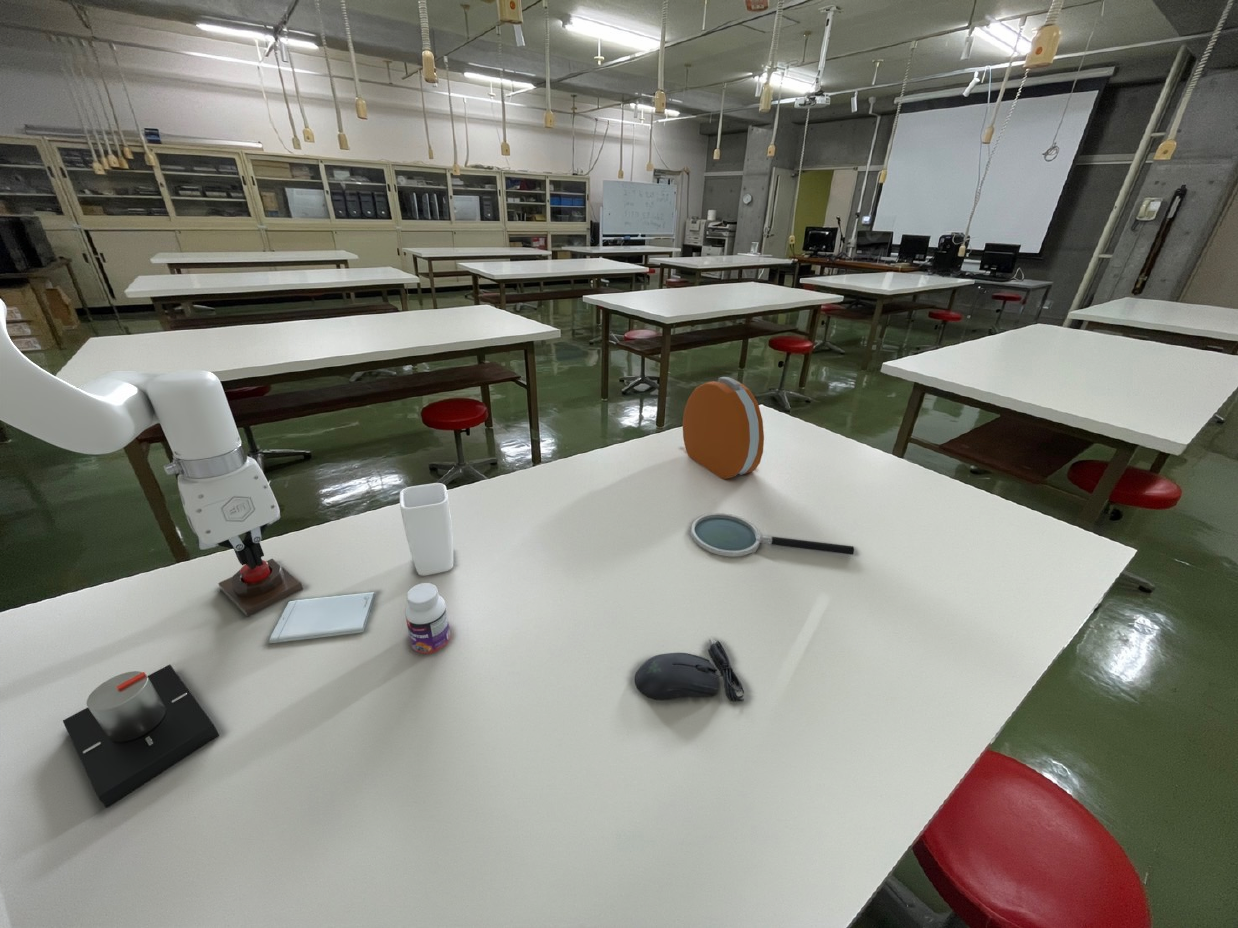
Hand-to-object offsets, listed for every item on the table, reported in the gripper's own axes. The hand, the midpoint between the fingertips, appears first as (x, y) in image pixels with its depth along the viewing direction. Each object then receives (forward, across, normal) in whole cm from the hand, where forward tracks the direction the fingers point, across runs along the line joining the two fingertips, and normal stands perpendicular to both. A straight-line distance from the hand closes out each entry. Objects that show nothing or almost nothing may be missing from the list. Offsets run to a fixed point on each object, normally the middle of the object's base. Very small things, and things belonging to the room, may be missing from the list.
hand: (253, 563), depth 78 cm
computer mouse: (+7, +27, -63) cm, 69 cm away
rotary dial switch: (+6, -19, -16) cm, 26 cm away
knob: (+3, -19, -16) cm, 25 cm away
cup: (+6, +21, -16) cm, 27 cm away
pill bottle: (+6, +10, -30) cm, 32 cm away
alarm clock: (+7, +91, -38) cm, 99 cm away
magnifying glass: (+7, +65, -61) cm, 89 cm away
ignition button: (+2, 0, 0) cm, 2 cm away
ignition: (+6, 0, 0) cm, 6 cm away
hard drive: (+6, +3, -14) cm, 16 cm away
